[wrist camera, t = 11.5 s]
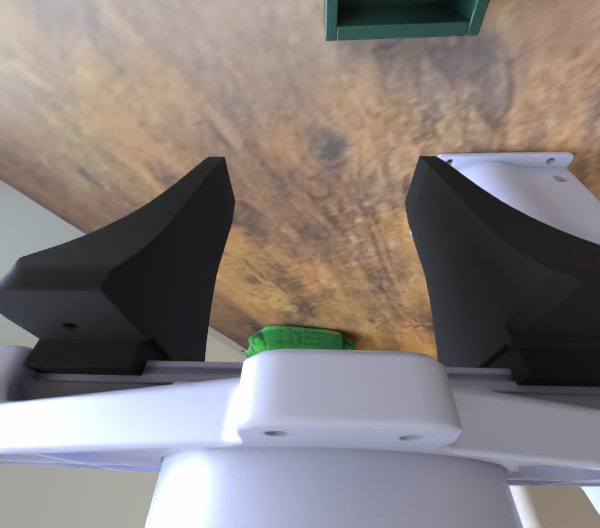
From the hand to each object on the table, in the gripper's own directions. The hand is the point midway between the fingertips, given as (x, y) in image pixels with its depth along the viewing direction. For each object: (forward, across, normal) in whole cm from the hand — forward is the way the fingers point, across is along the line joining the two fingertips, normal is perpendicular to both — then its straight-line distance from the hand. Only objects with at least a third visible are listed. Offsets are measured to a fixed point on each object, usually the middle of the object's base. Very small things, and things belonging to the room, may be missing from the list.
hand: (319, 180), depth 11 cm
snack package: (+10, +2, +34) cm, 35 cm away
